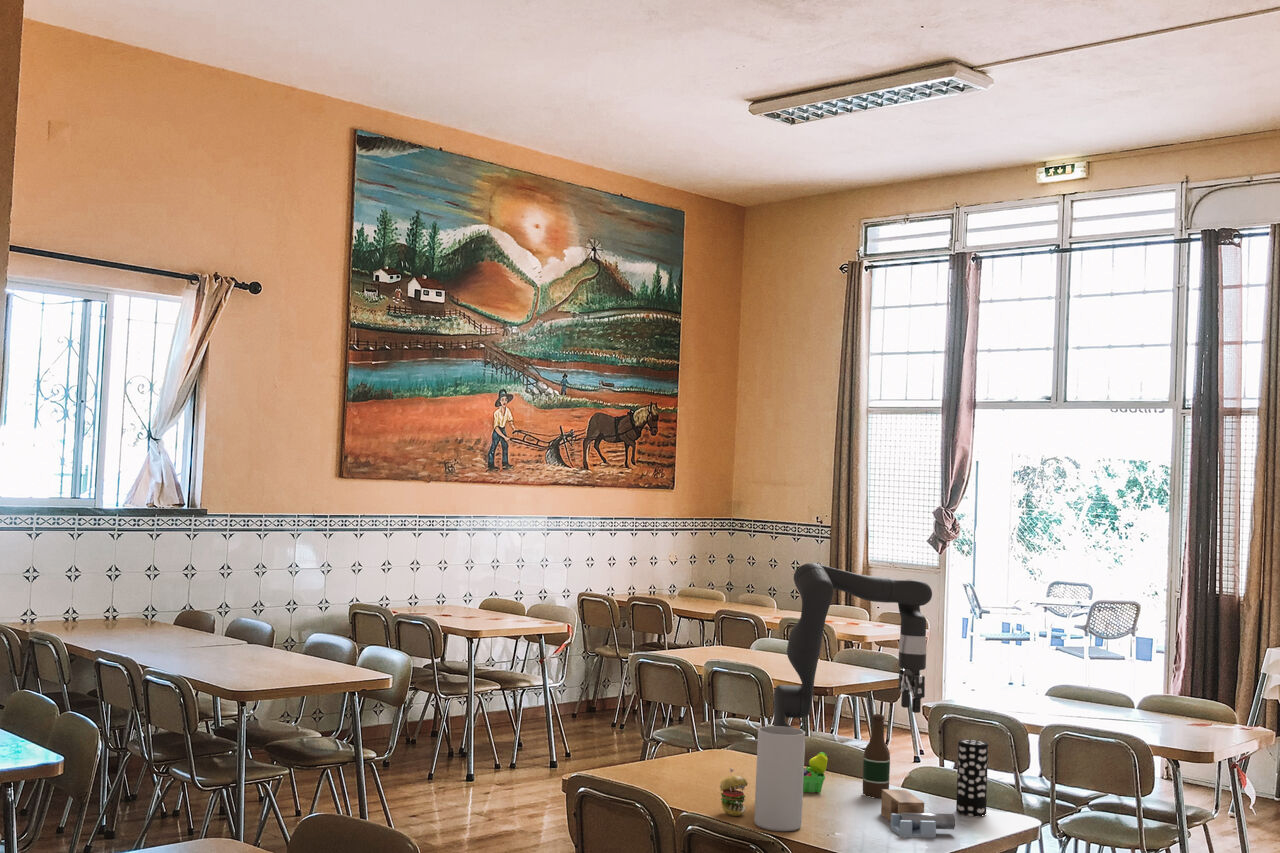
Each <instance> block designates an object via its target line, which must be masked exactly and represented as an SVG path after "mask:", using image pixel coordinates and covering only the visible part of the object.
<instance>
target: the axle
mask: <svg viewBox="0 0 1280 853" xmlns="http://www.w3.org/2000/svg"><path fill="white" fill-rule="evenodd" d="M899 820H911V821H912V829H920V821H935V822H936V830H954V829H955V828H956V817H955V815H954V813H939V812H935V813H934V812H931V813H930V812H924V813H901V814H900V818H899Z"/></svg>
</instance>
